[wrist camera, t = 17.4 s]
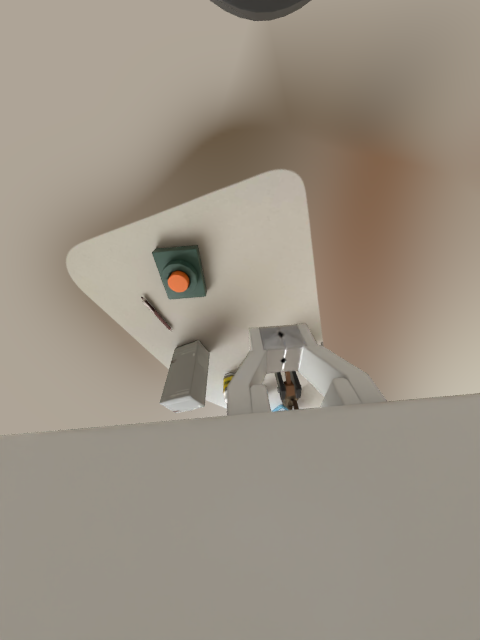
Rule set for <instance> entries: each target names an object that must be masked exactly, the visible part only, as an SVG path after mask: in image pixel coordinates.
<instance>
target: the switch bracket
mask: <svg viewBox="0 0 480 640" xmlns="http://www.w3.org/2000/svg"><path fill="white" fill-rule="evenodd" d="M275 376H276V381H277V385H278V387H277V389H278V393H280V397H281V400H285V387H284V384H283V380H282V376H281V373H280V372H276V373H275ZM290 376H291V381H292V382H293V384H294V388H295V395H296V398H300V396H301V390H302V388H301V385H300V383H299V380H298V377H297V374H296V371H290Z"/></svg>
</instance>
